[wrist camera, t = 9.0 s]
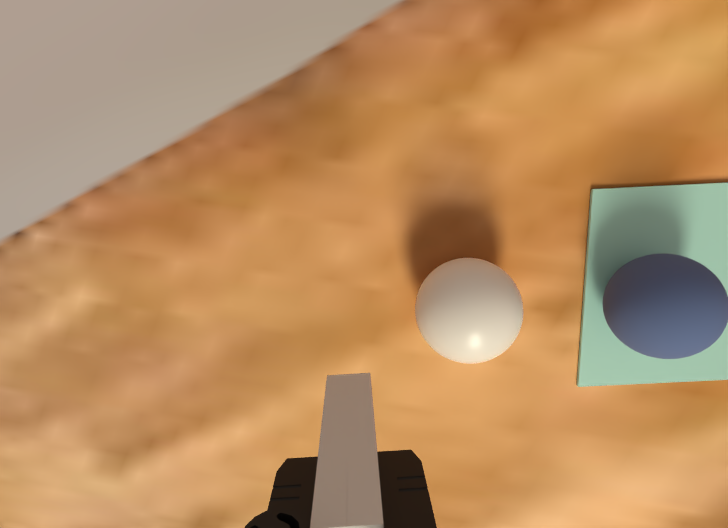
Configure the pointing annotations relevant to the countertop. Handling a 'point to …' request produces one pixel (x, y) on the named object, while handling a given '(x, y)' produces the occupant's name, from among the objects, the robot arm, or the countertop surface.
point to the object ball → (666, 306)
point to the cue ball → (469, 310)
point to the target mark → (639, 238)
